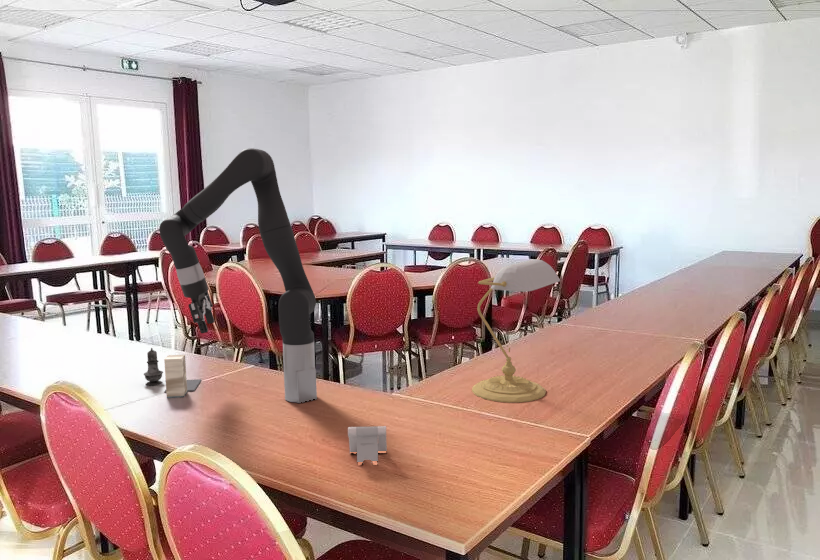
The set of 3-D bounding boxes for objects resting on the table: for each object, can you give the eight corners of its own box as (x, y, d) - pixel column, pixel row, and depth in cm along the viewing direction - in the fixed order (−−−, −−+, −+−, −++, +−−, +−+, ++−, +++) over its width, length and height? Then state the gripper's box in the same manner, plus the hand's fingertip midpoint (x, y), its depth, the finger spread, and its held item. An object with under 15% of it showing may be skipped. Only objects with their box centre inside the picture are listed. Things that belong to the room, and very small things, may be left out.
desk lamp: (524, 412, 180) (526, 268, 175) (452, 398, 193) (451, 264, 187) (563, 383, 206) (566, 258, 200) (497, 373, 218) (497, 255, 213)
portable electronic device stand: (386, 451, 154) (386, 417, 153) (386, 465, 146) (386, 429, 145) (350, 452, 154) (349, 418, 153) (348, 466, 146) (347, 430, 145)
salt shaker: (140, 385, 211) (137, 348, 209) (155, 380, 216) (152, 344, 214) (153, 387, 208) (150, 350, 206) (167, 382, 213) (165, 346, 211)
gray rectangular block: (194, 391, 203) (194, 390, 203) (164, 392, 202) (164, 391, 202) (201, 380, 215) (201, 379, 215) (173, 381, 214) (173, 380, 214)
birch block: (183, 397, 197) (181, 358, 196) (166, 397, 197) (164, 359, 195) (187, 392, 202) (185, 354, 201) (170, 392, 202) (168, 355, 200)
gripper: (198, 283, 192) (214, 333, 197) (209, 270, 206) (224, 317, 210) (173, 289, 192) (190, 338, 197) (186, 275, 206) (202, 322, 211)
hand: (208, 327), depth 204 cm, fingers open, 8 cm apart
